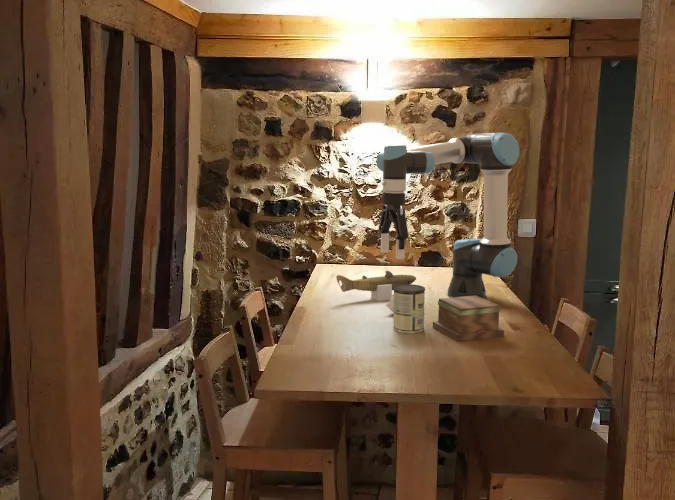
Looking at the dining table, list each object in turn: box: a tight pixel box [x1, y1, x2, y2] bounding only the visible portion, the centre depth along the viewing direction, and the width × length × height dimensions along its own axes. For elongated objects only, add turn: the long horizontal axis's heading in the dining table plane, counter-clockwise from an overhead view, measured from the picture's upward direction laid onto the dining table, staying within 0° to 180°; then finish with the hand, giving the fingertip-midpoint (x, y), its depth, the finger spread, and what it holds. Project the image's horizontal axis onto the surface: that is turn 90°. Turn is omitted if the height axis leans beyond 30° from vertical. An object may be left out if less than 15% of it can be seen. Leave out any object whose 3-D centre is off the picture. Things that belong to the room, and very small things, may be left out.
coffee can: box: [392, 283, 426, 334], centre depth 206 cm, size 10×10×14 cm
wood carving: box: [335, 270, 417, 302], centre depth 247 cm, size 9×35×11 cm, turn 114°
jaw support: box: [385, 294, 394, 314], centre depth 229 cm, size 12×9×10 cm
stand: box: [432, 295, 505, 342], centre depth 204 cm, size 17×16×10 cm
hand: (392, 255), depth 210 cm, fingers open, 13 cm apart
